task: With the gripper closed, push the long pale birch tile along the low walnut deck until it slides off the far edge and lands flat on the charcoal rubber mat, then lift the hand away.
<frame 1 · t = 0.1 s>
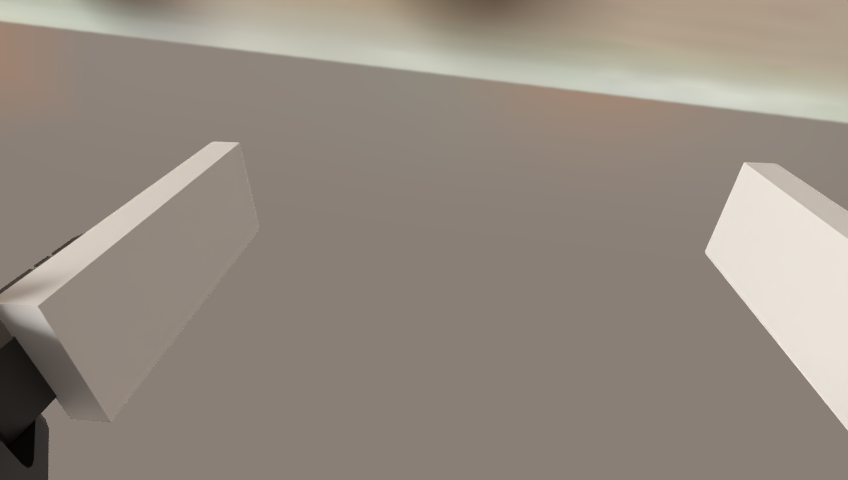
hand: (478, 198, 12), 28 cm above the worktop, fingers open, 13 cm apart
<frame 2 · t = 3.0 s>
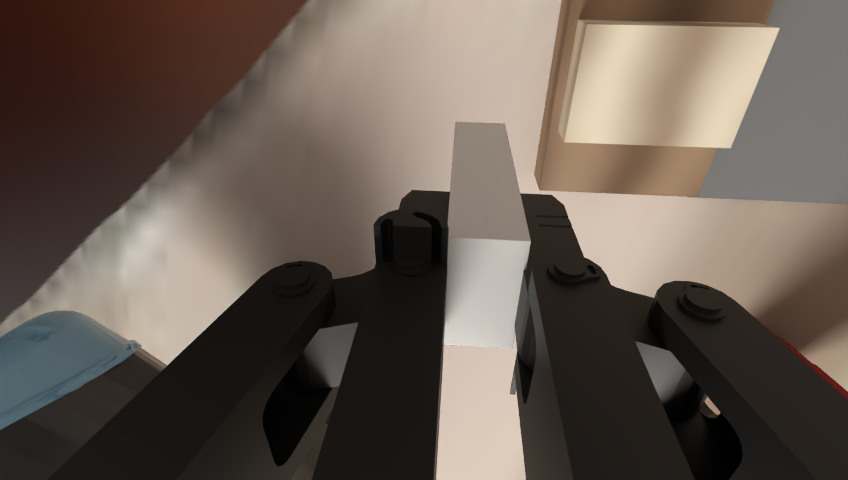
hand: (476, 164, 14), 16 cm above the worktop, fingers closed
plastic cup: (748, 355, 38), on the worktop
birch tile: (649, 80, 24), point 2 cm above the worktop, touching walnut deck
walnut deck: (634, 71, 26), on the worktop
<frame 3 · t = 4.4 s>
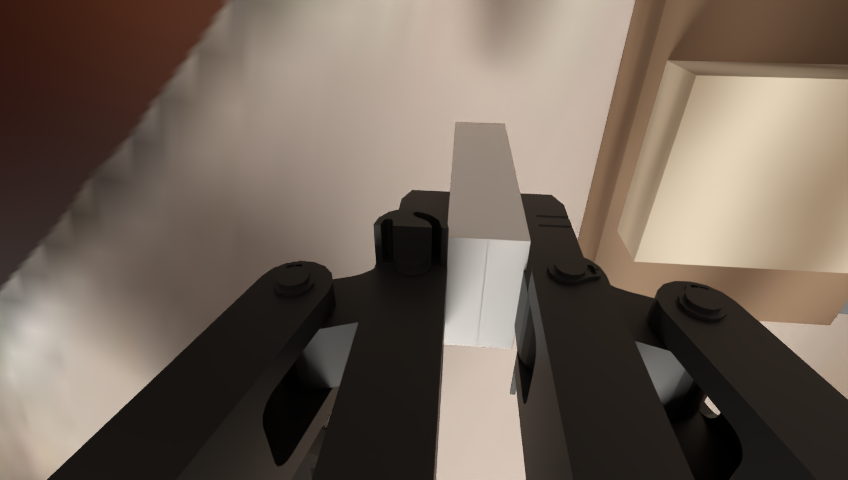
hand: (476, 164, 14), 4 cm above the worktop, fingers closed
birch tile: (779, 160, 14), point 2 cm above the worktop, touching walnut deck
walnut deck: (739, 134, 16), on the worktop
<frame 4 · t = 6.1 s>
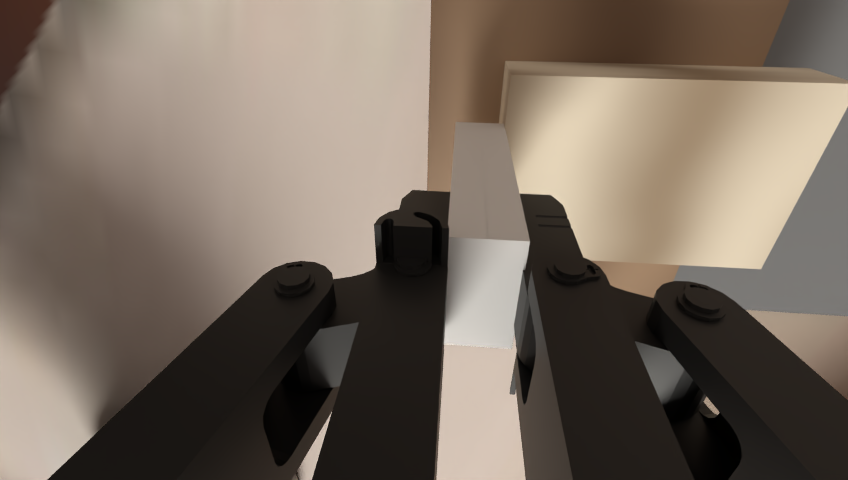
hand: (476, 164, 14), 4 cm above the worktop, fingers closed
birch tile: (627, 157, 15), point 2 cm above the worktop, touching gripper, walnut deck
walnut deck: (559, 131, 17), on the worktop
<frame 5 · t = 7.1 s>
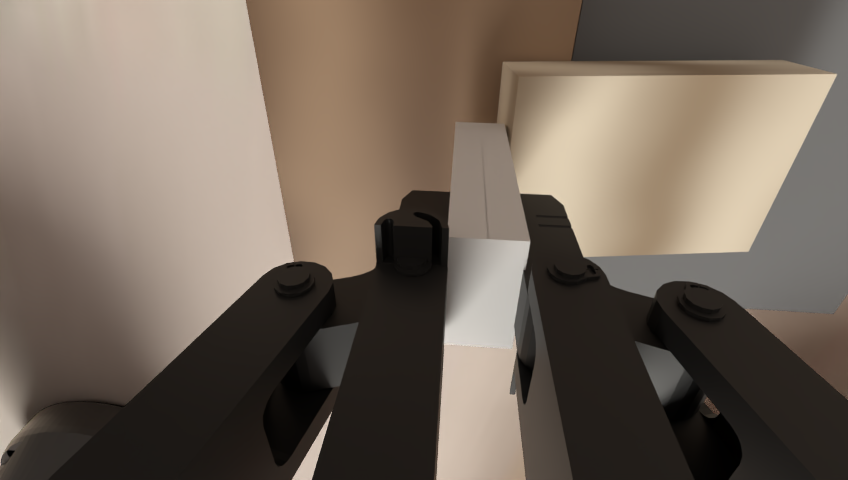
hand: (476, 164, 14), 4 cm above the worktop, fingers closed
birch tile: (621, 152, 15), point 2 cm above the worktop, tilted 8°
walnut deck: (416, 124, 17), on the worktop
rubber mat: (741, 137, 17), on the worktop
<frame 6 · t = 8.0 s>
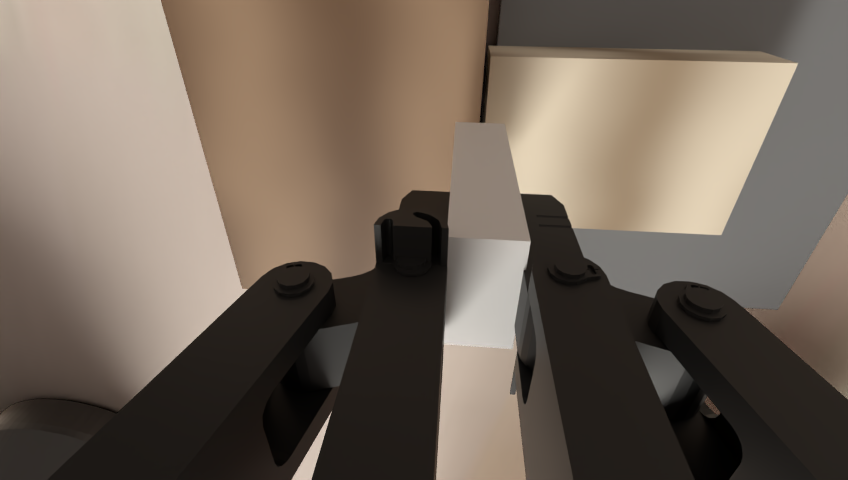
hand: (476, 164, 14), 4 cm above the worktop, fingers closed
birch tile: (601, 133, 16), resting on rubber mat
walnut deck: (351, 121, 17), on the worktop
rubber mat: (672, 132, 17), on the worktop
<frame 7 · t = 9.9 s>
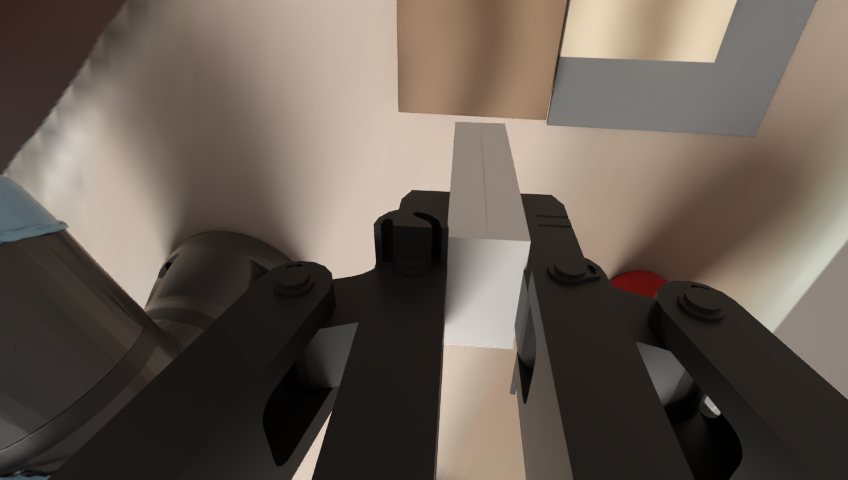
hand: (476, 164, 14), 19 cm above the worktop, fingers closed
plastic cup: (634, 295, 40), on the worktop
birch tile: (641, 0, 26), resting on rubber mat
rubber mat: (686, 1, 27), on the worktop
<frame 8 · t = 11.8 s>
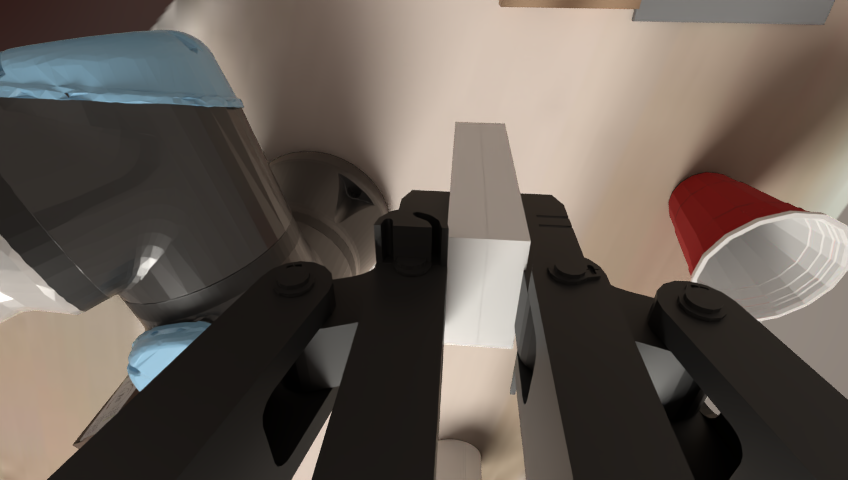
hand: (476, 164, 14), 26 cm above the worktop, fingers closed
coffee box: (199, 346, 60), on the worktop
plastic cup: (699, 199, 42), on the worktop
cup: (452, 455, 69), on the worktop
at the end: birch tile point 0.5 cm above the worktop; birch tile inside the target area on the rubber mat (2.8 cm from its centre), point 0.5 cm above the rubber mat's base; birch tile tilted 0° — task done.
